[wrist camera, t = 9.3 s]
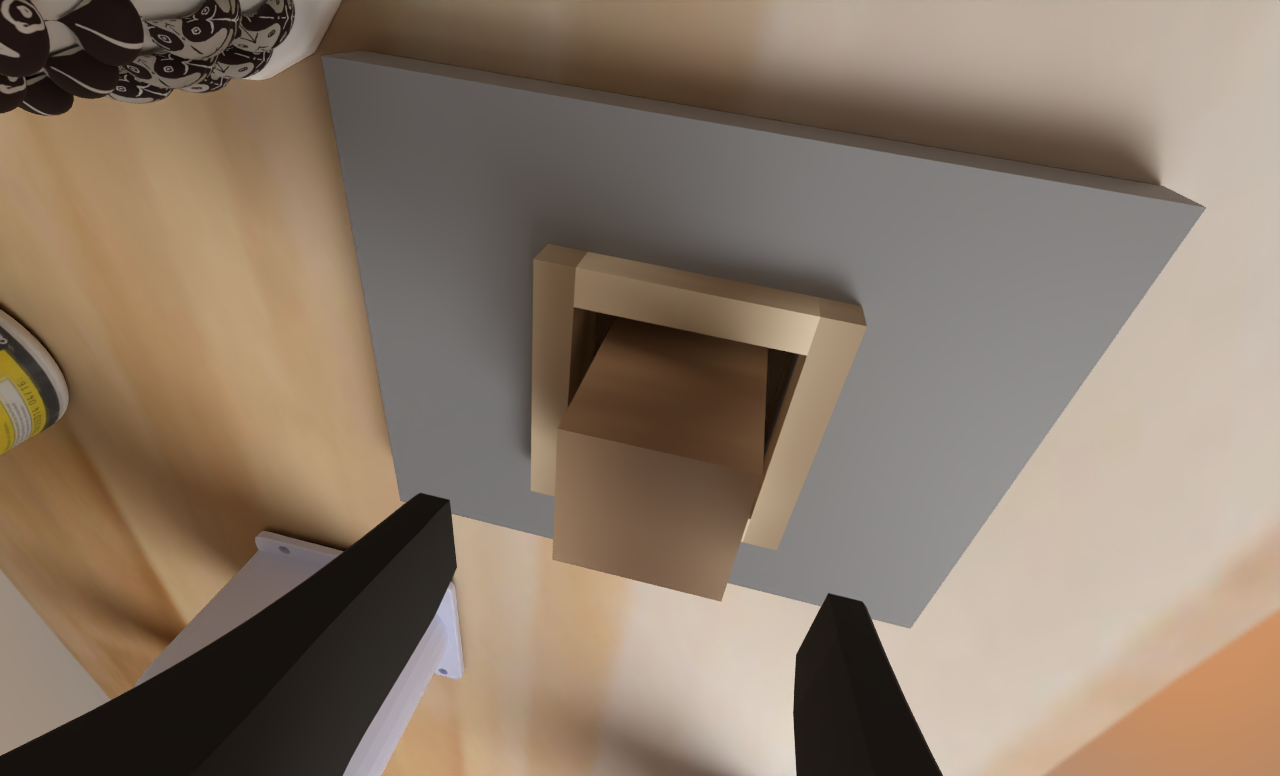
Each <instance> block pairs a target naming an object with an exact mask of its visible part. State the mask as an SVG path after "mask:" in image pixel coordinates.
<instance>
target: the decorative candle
mask: <svg viewBox="0 0 1280 776" xmlns="http://www.w3.org/2000/svg"><path fill="white" fill-rule="evenodd" d="M341 2H342V0H0V113H5V112H9V111H11V110H13V109H15V108H17V107H20V108H22V109H24V110H26V111H28V112H31V113H34V114H38V115H44V116H54V115H60V114H62V113H65V112H67V111H68V110H69V109H70V108H71V107H72V105H73V101H74V97H73V95H75V96H78V97H81V98H88V99H95V98H101V97H104V96H106V97H108V98H111V99H115V100H118V101H122V102H127V103H137V104H142V103H152V102H155V101H159V100H162V99H164V98H165V97H167V96H169V94H170V93H171V92H172V91H173V90H174V89H181V90H184V91H189V92H196V93H207V92H213V91H216V90H219V89H221V88H223V87H225V86H226V85H227V83H228V82H229V81H230V79H249V80H264V79H270V78H271V77H273V76H275V75H277V74H278V73H280V72H282V71H284V70H285V69H287V68H289V67H291V66H292V65H294V64H296V63H297V62H299V61H301V60H303V59H304V58H306V57H308V56H310V55H311V54H313V53H315V52H316V50H317V48H318V46H319V44H320V42H321V40H322V39H323V37H324V35H325V33H326V31H327V29H328V27H329V25H330V23H331V21H332V19H333V18H334V16H335V14H336V12H337V10H338V8H339V6H340V4H341Z"/></svg>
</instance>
